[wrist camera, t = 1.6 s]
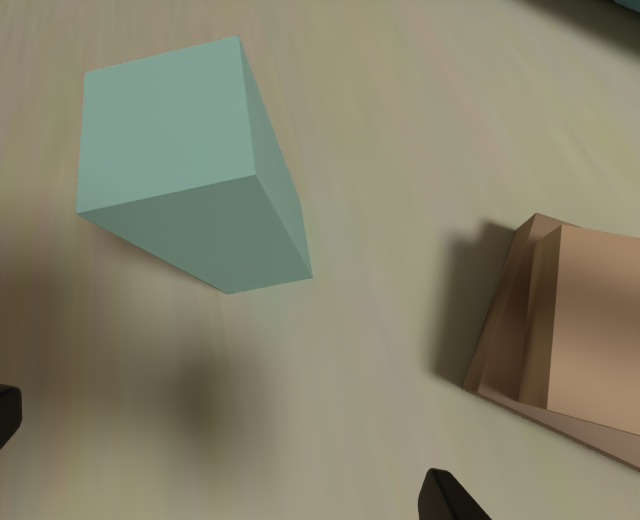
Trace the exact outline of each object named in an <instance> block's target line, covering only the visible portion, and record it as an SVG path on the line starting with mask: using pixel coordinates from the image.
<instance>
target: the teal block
mask: <svg viewBox="0 0 640 520" xmlns="http://www.w3.org/2000/svg"><path fill="white" fill-rule="evenodd" d="M75 214H77V215H79V216H81V217H83V218H85V219H87V220H88V221H90V222H92V223H94V224H96V225H98V226H100V227H102V228H104V229H106V230H107V231H109V232H111V233H113V234H115V235H117V236H119V237H121V238H123V239H125V240H126V241H128V242H130V243H132V244H134V245H136V246H138V247H140V248H142V249H143V250H145V251H147V252H149V253H151V254H153V255H155V256H157V257H159V258H161V259H162V260H164V261H166V262H168V263H170V264H172V265H174V266H176V267H178V268H180V269H181V270H183V271H185V272H187V273H189V274H191V275H193V276H195V277H197V278H199V279H200V280H202V281H204V282H206V283H208V284H210V285H212V286H214V287H216V288H218V289H219V290H221V291H223V292H225V293H227V294H232V293H237V292H243V291H248V290H253V289H258V288H263V287H268V286H273V285H278V284H283V283H288V282H293V281H299V280H304V279H309V278H313V276H312V270H311V264H310V258H309V252H308V246H307V240H306V235H305V229H304V223H303V217H302V211H301V205H300V200H299V197H298V195H297V192H296V189H295V187H294V184H293V181H292V178H291V176H290V173H289V170H288V168H287V165H286V162H285V160H284V157H283V154H282V152H281V149H280V146H279V143H278V141H277V138H276V135H275V133H274V130H273V127H272V125H271V122H270V119H269V117H268V114H267V111H266V108H265V106H264V103H263V100H262V98H261V95H260V92H259V90H258V87H257V84H256V82H255V79H254V76H253V73H252V71H251V68H250V65H249V63H248V60H247V57H246V55H245V52H244V49H243V46H242V44H241V41H240V38H239V36H238V35H236V36H232V37H228V38H224V39H220V40H216V41H212V42H208V43H204V44H199V45H195V46H191V47H187V48H183V49H179V50H175V51H171V52H167V53H162V54H158V55H154V56H150V57H146V58H142V59H138V60H134V61H129V62H125V63H121V64H117V65H113V66H109V67H105V68H101V69H97V70H92V71H88V72H85V83H84V97H83V111H82V126H81V140H80V154H79V169H78V183H77V197H76V212H75Z"/></svg>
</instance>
